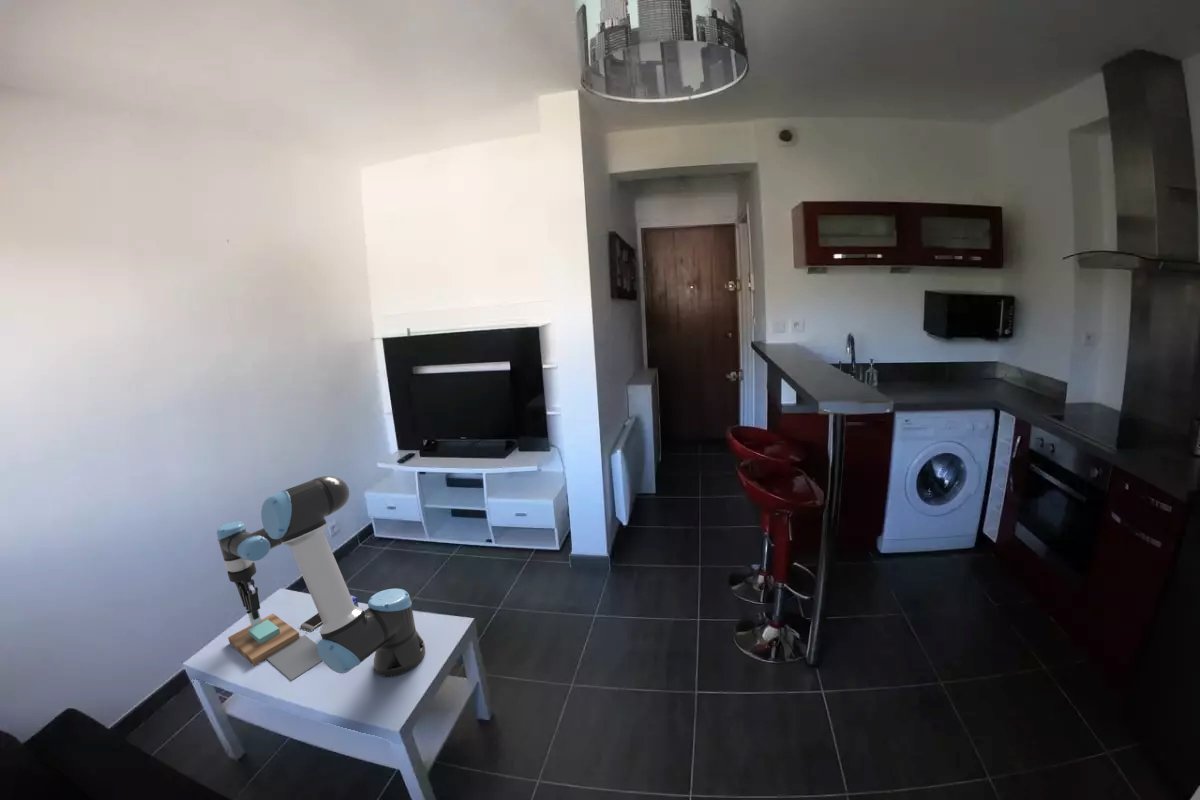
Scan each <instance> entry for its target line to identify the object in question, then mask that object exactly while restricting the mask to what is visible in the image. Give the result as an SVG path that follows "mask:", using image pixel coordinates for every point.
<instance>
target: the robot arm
mask: <svg viewBox="0 0 1200 800" xmlns="http://www.w3.org/2000/svg"><path fill="white" fill-rule="evenodd" d="M349 498H350V489H349V486H348V484H347V483H346V482H345V481H344V480H342V479H341V478H340V477H336V476H333V475H325V476H323V475H322V476H319V477H316V478H313V479H312V480H308V481H305V482H303V483H300V484H298V485H295V486H292V487H290V488H289V487H288V488H287V489H284V490H281V491H279V492H277V493H275V494H272V495H271V496H269V497H266V499H265V500H264V501H263V502H262V506H261V510H260V515H261V523H262V526H263V528H261V529H258V530H256V531H253V532H248V531H247V530H246V529H247V528H246V526H245V524H244V522H242V521H233V522H229V523H226V524H224V525H221V526H220V527H219V528H218V529H217V530H216V535H217V541H218V544H219V547H220V551H221V554H222V558H223V563H224V565H225V569H226V571H227V576H228V579H229V582H232V583H234V584H235V587H236V589H237V592H238V593H239V597H240V600H241V602H242V606H243V607H244V608H245V610H246V614H247V616H248V620H249V622H250V625H251V627H252V628H253V627H255V626H256V625H258V624H260V623H262V621H261V620H262V618H261V614H260V609H261V605H260V598H259V593H258V592H259V589H258V587H257V586H255V579H252V578H253V576H254V575H256V573H257V566H256V564H255V562H257V561H260V560H262V559H264V558H265V557H266V556H267V555H268V554H269V552H270V551H271V550H272V549H274V548H277V547H279V546H281V545H286V546H289V547H290V551H291V552H292V554H293V557H294V559H295V562H296V564H297V566H298V568H299V570H300V573H301V575H302V578H303V580H304V582H305V585H306V587H307V589H308V591H309V594H310V597H311V599H312V601H313V603H314V605H315V608H316V611H317V613H319V615H320V618H321V620H322V622H323V624H321V628H320V629H319V634H320V637H321V640H318V642H317V643H316V644H317V652H318V654H319V656H320V658H321V659H322V661H321V662H323V664H324V665H325V666H327V667H328V669H330V670H331V671H332V672H335V673H337V674H343V675H344V674H346V673H348V672H350V671H352V670H354V668H355V667H358V666H359V665H360V664H361V663H362V662H364V661H365V660H366V659H368V658H369V657H370V656H371V655H372V654H373V653H374V658H373V665H374V670H375V672H376V673H377V674H378V675H380V676H382V677H390V678H391V677H397V676H400V675H403V674H405V673H407V672H410V671H411V670H413V669H414V668H415V667H417V666H418V665H419V664H420V662H422V660H423V659H424V657H425V655H426V646H425V642H424V640H423V638H422V636H421V635H420V634H419V632H418V631H417V629H416V623H415V618H414V611H413V607H412V605H413V603H412V602H413V601H412V600H411V596H410V594H409V593H408V591H406V590H405V589H403V588H388V589H384V590H381V591H378V592H376V593H375V594H373V595H371V596H370V598H369V600H368V603H367V606H368V608H366V609H365V610H364V609H363V607H360V606H358V607H356V606H355V605H354V603H353V600H352V598H351V594H350V591H349V588H348V585H347V584H346V581H345V580H344V576H343V574H342V572H341V570H340V567H339V565H338V563H337V560H336V558H335V555H334V553H333V551H332V548H331V546H330V543H329V542H328V539H327V537H326V534H325V528H326V526H327V525H328V523H327V520H326V517H328V516H330V515H332V514H334V513H336V512H338V511H340V509H342V508H343V507H344V506H345V505H347V502H348V500H349Z"/></svg>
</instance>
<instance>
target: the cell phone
mask: <svg viewBox="0 0 1200 800" xmlns="http://www.w3.org/2000/svg"><path fill="white" fill-rule="evenodd" d="M322 625H323V622H322V620H321V618H320V615H319V613H318V612H317V613H316V614H315V615H313V616H312V617H310V618H309V619H307V620H306V621H304V622H302V623H301V624H300V629H301V630H303V631H306V632H309V633H310V632H312V631H314V630H316V629H317V628H318V627H320V626H322Z"/></svg>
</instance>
